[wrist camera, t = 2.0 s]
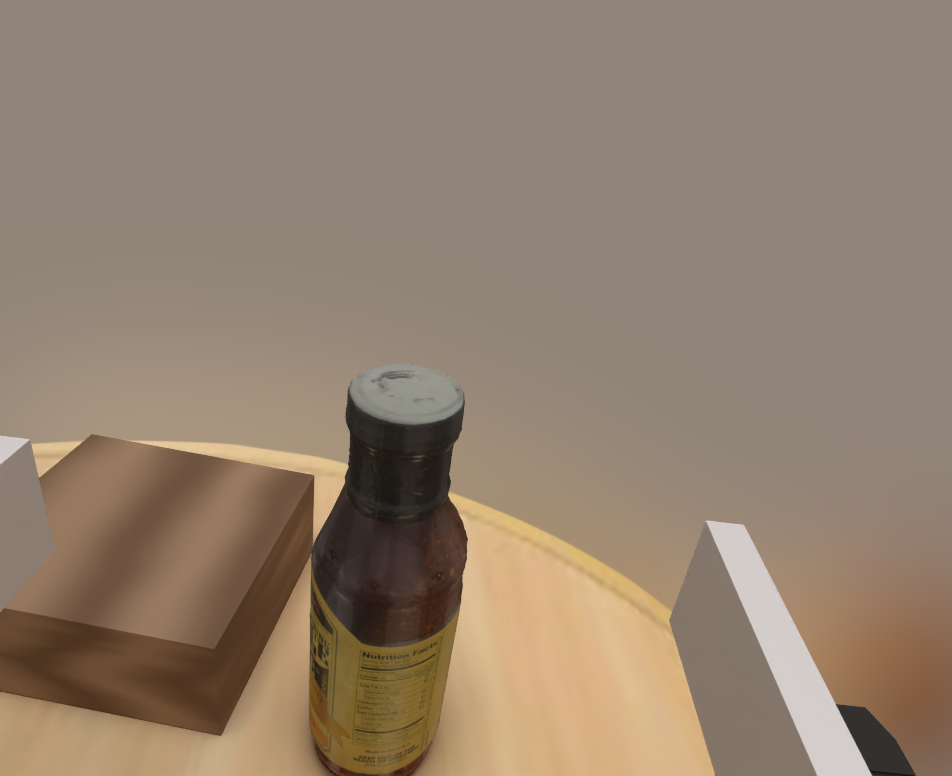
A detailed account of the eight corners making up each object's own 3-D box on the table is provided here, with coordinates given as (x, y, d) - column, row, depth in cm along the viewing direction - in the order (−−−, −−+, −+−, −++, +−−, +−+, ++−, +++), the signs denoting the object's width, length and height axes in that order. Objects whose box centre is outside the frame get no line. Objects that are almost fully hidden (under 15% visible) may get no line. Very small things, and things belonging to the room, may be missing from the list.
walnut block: (-61, 679, 32) (-94, 588, 29) (104, 510, 43) (91, 434, 40) (220, 735, 31) (214, 649, 28) (312, 550, 43) (314, 475, 40)
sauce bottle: (329, 668, 35) (345, 329, 26) (444, 688, 35) (502, 355, 26) (287, 791, 30) (287, 413, 20) (425, 815, 29) (490, 446, 20)
